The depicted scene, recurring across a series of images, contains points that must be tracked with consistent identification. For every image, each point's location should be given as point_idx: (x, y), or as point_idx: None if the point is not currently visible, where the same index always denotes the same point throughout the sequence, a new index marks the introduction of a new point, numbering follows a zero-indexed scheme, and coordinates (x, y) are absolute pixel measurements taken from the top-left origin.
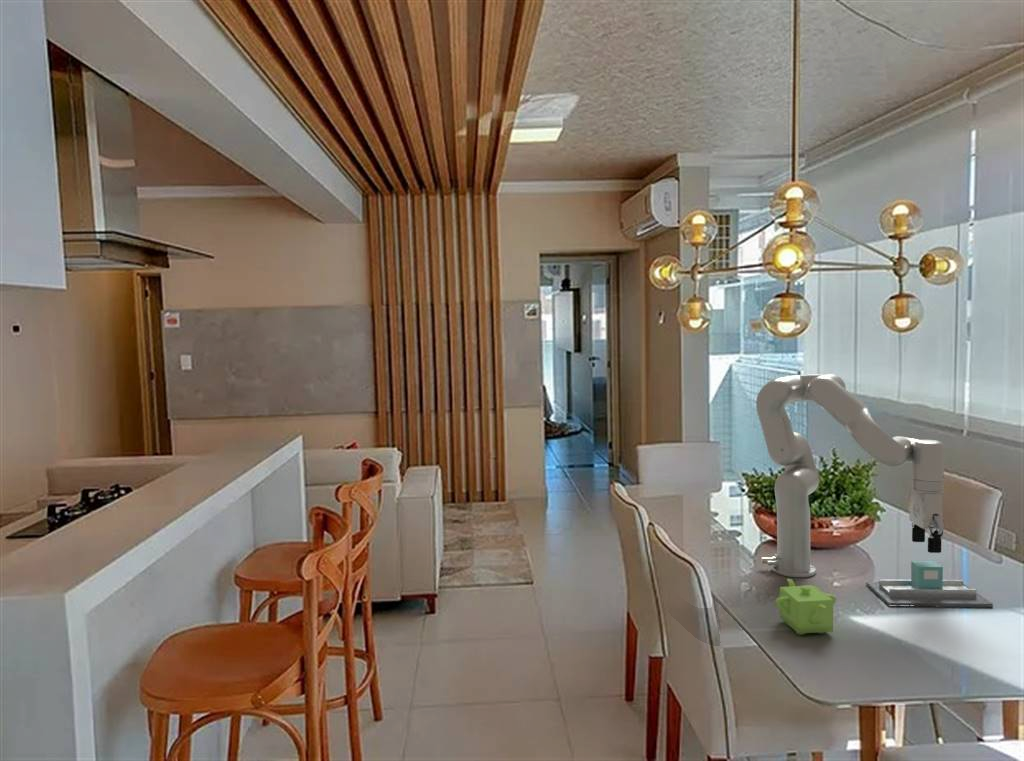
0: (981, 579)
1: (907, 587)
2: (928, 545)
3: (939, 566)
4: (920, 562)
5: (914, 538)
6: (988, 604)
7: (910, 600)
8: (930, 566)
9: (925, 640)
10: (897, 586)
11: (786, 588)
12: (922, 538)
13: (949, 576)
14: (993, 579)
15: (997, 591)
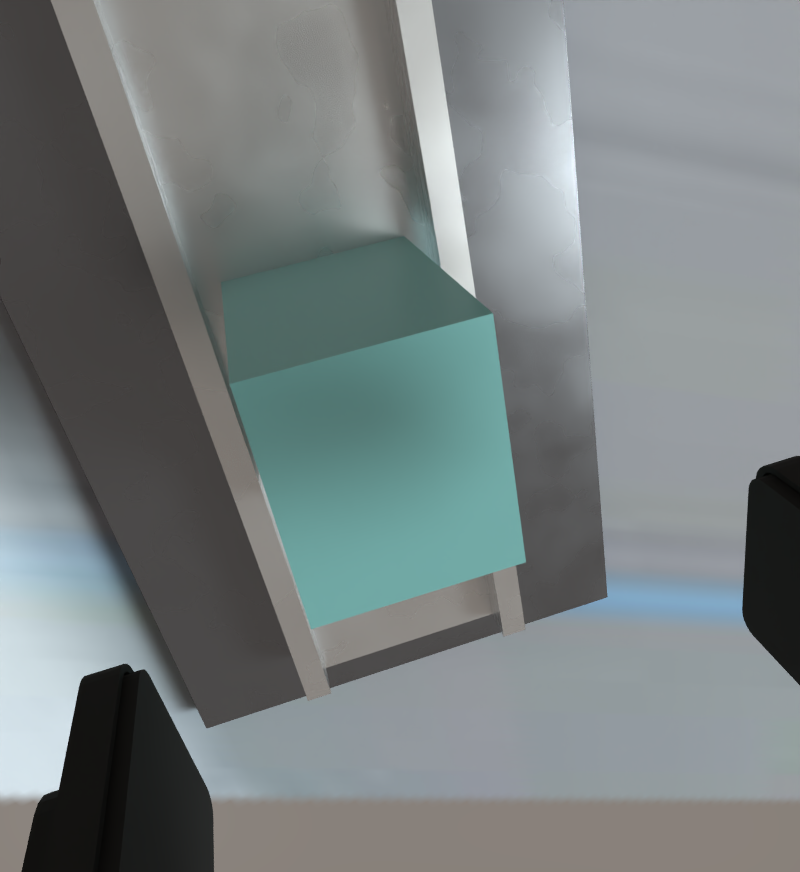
0: (715, 677)
1: (332, 187)
2: (66, 791)
3: (320, 602)
4: (442, 418)
5: (795, 520)
6: (196, 704)
7: (18, 160)
8: (294, 514)
9: None
10: (339, 81)
11: None
12: (787, 637)
13: None
14: (715, 723)
15: (520, 734)
